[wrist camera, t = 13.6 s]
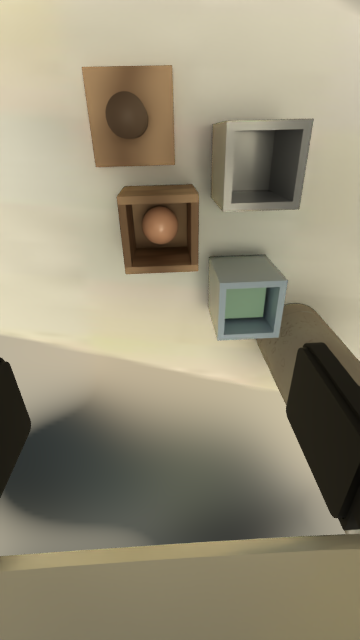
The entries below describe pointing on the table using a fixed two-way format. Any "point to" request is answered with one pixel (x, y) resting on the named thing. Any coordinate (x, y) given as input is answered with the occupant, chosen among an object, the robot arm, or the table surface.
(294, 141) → the grey open storage bin
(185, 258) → the oak box
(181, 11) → the table surface
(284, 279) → the square blue-grey bin
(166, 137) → the lid
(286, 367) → the thermos bottle
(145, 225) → the terracotta ball
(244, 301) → the green cube
